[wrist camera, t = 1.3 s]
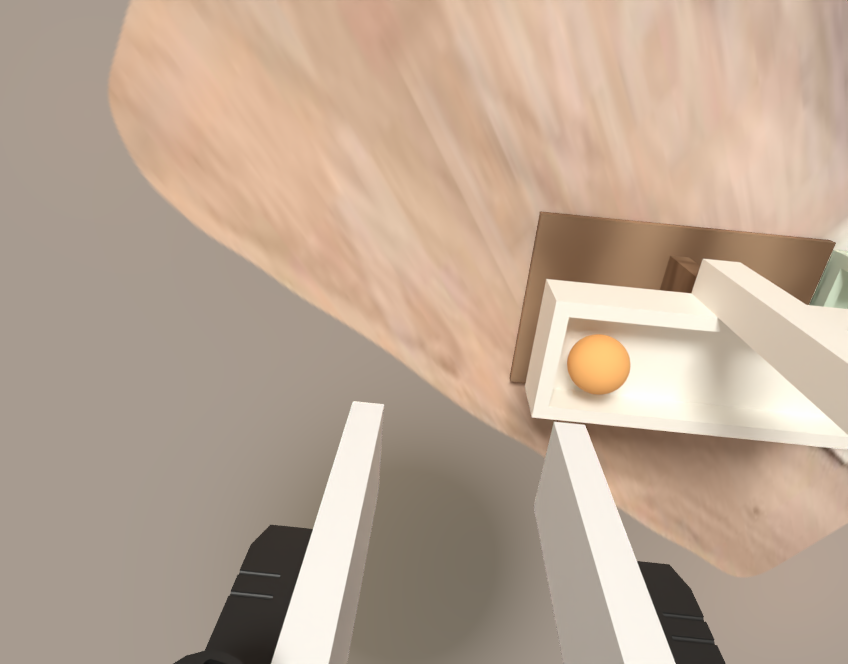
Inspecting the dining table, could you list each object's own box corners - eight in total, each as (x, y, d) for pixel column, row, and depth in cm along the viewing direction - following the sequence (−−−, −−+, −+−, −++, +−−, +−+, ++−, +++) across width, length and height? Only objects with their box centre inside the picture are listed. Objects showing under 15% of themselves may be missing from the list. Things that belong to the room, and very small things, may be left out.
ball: (599, 313, 29) (615, 339, 26) (632, 353, 29) (651, 383, 27) (550, 347, 30) (561, 376, 27) (583, 384, 30) (597, 416, 28)
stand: (509, 377, 38) (516, 415, 34) (540, 211, 33) (553, 231, 29) (759, 402, 38) (798, 443, 34) (829, 240, 33) (886, 264, 28)
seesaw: (524, 387, 32) (600, 715, 16) (554, 238, 28) (699, 468, 12) (820, 417, 32) (1214, 780, 15) (893, 271, 28) (1532, 553, 11)
